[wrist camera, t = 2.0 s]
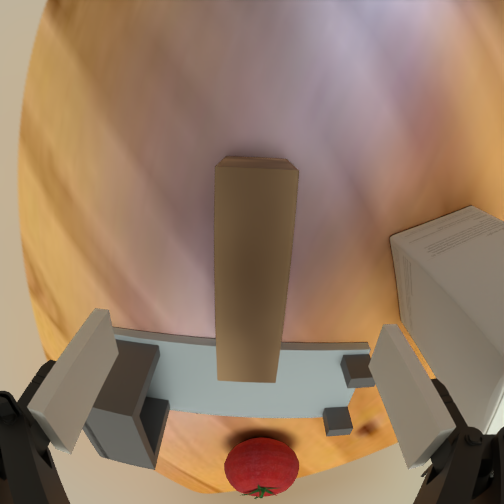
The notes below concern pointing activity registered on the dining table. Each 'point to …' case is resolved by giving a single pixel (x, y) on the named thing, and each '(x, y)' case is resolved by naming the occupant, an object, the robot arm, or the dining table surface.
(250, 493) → the tomato
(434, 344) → the supplement box
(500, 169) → the dining table surface
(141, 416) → the board
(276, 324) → the walnut slat
